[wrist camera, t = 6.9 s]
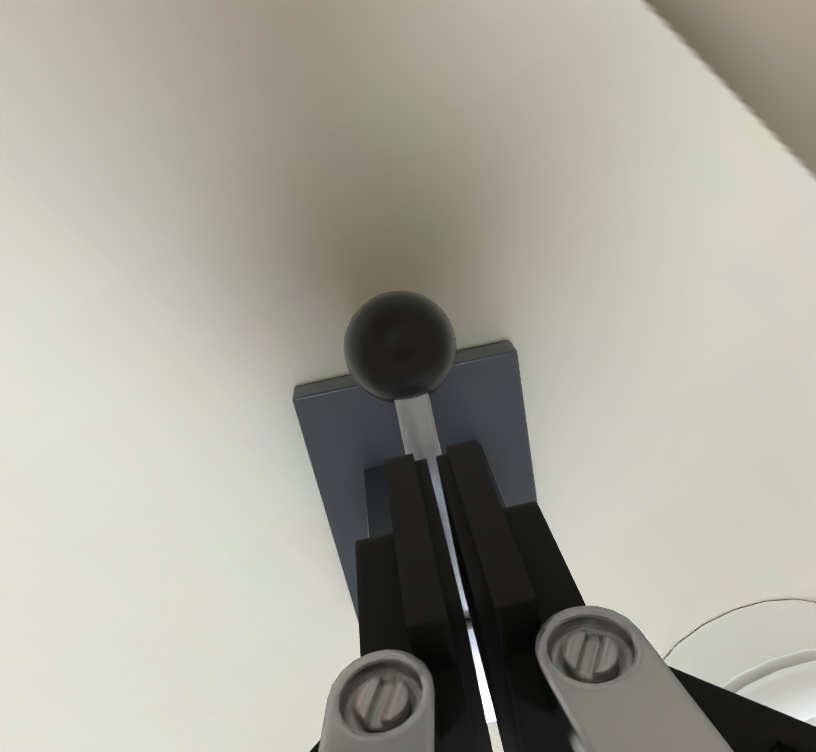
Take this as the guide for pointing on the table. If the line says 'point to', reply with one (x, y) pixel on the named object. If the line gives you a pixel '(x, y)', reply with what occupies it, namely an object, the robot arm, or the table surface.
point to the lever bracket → (381, 439)
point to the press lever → (411, 392)
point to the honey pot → (758, 655)
